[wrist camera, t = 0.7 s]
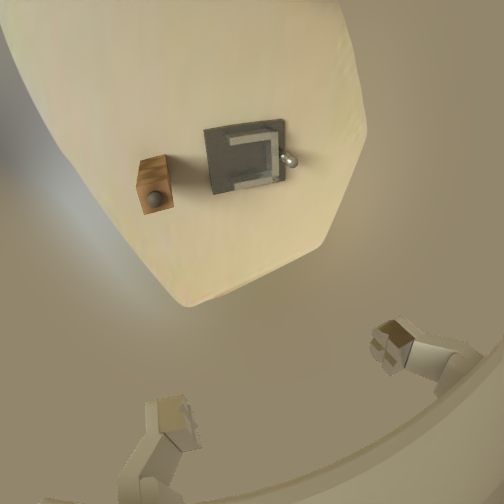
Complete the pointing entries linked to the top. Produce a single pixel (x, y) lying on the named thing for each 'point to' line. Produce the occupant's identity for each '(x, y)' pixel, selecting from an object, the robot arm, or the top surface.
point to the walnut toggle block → (154, 185)
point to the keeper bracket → (246, 155)
